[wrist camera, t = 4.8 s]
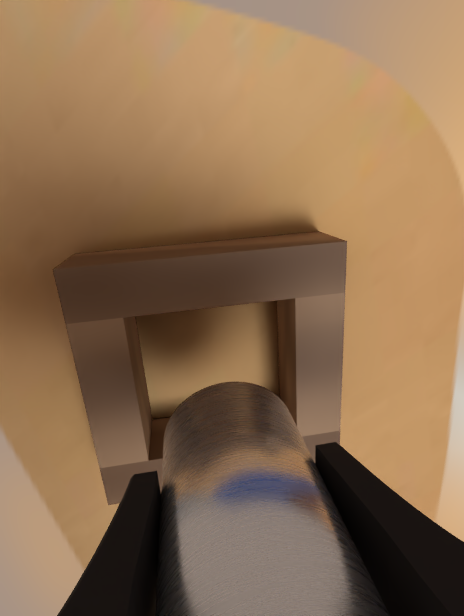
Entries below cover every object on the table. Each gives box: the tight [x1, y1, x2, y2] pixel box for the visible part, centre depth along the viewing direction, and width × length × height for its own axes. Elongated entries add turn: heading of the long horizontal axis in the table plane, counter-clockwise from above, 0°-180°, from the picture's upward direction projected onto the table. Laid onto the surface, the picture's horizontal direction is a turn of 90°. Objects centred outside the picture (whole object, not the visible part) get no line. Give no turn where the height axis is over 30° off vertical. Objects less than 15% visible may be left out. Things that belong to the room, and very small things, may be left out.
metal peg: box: [155, 382, 390, 616], centre depth 9 cm, size 4×4×7 cm
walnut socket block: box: [53, 232, 347, 505], centre depth 17 cm, size 11×11×3 cm
